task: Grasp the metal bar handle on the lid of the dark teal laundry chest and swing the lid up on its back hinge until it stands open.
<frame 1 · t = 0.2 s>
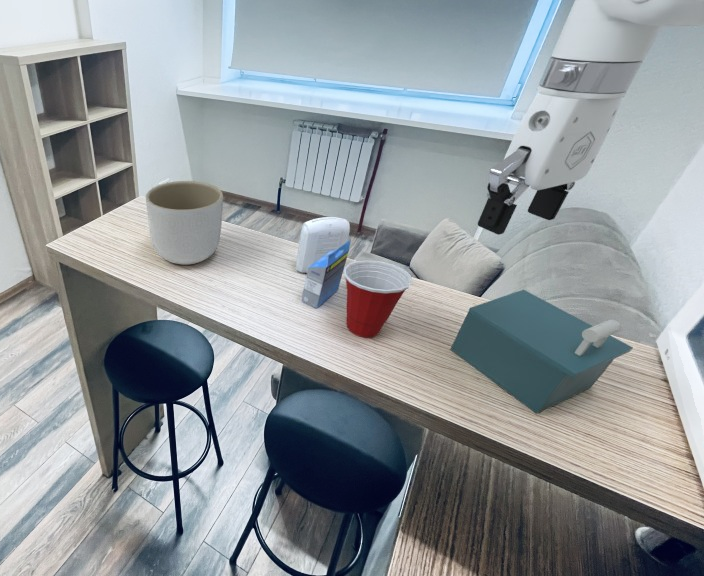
hand: (515, 222, 54), 25 cm above the table, tool pointing down, fingers open, 9 cm apart
photo printer: (317, 269, 92), on the table
planter: (186, 254, 98), on the table
chest: (516, 367, 66), on the table
label tape box: (320, 296, 83), on the table
lid: (552, 316, 60), point 11 cm above the table, hinge at 0.0°
plastic cup: (361, 327, 75), on the table
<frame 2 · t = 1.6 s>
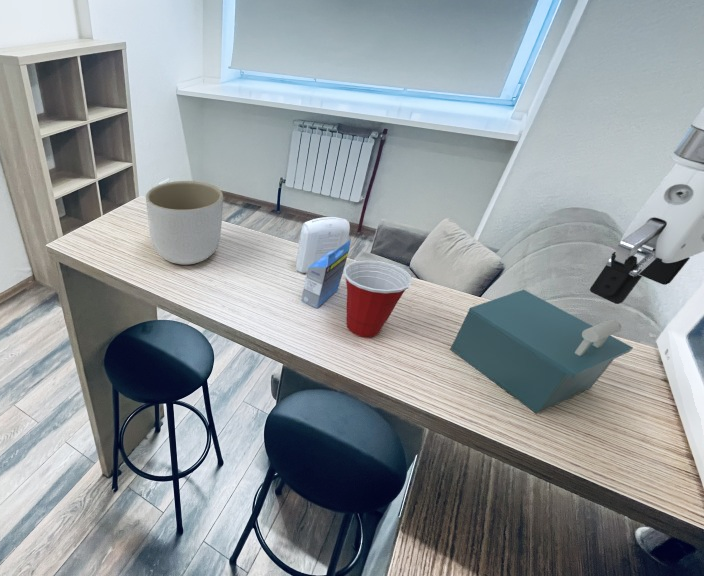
hand: (628, 287, 51), 19 cm above the table, tool pointing down, fingers open, 9 cm apart
nothing on the table moved.
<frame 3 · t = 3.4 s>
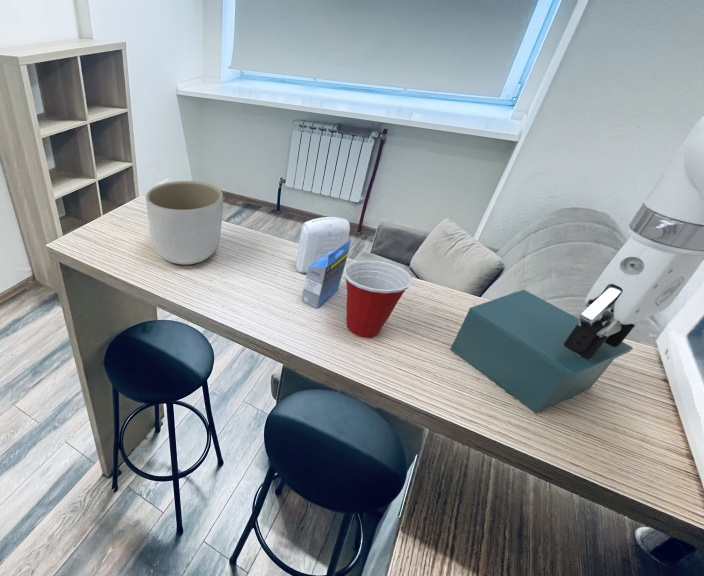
hand: (590, 345, 56), 10 cm above the table, tool pointing down, fingers closed on lid, 5 cm apart
lid: (552, 316, 60), point 11 cm above the table, hinge at 0.0°, touching gripper
everything else where it was.
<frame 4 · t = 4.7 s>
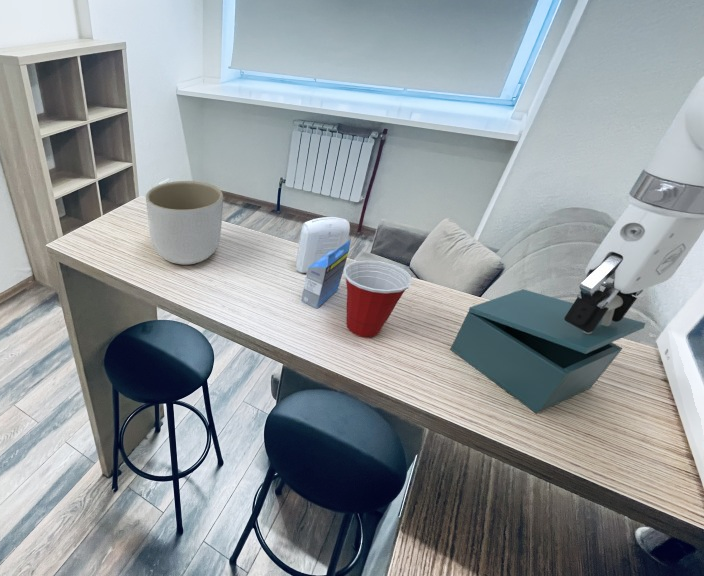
hand: (592, 319, 55), 13 cm above the table, tool pointing down, fingers closed on lid, 5 cm apart
lid: (552, 303, 59), point 13 cm above the table, hinge at 15.1°, touching gripper
everything else where it was.
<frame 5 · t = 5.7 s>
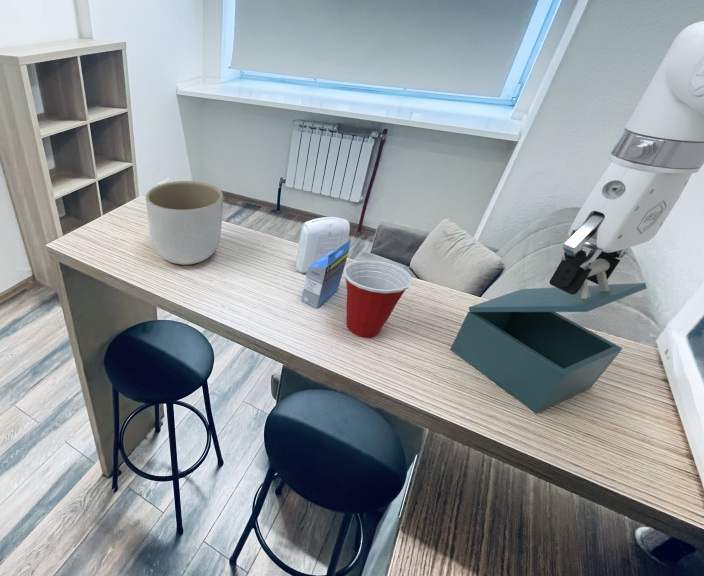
hand: (576, 283, 56), 17 cm above the table, tool pointing down, fingers closed on lid, 5 cm apart
lid: (546, 284, 60), point 15 cm above the table, hinge at 36.1°, touching gripper
everything else where it was.
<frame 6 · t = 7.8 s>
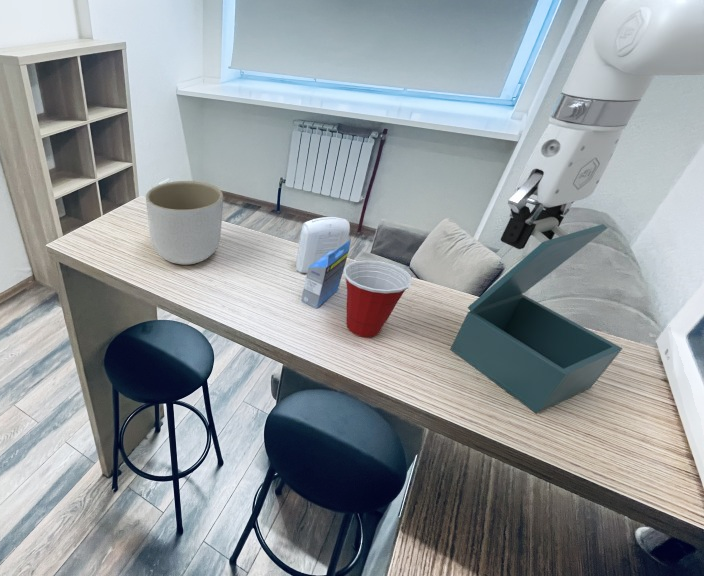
hand: (525, 239, 61), 20 cm above the table, tool pointing down, fingers open, 5 cm apart
lid: (520, 259, 62), point 17 cm above the table, hinge at 70.8°
everything else where it was.
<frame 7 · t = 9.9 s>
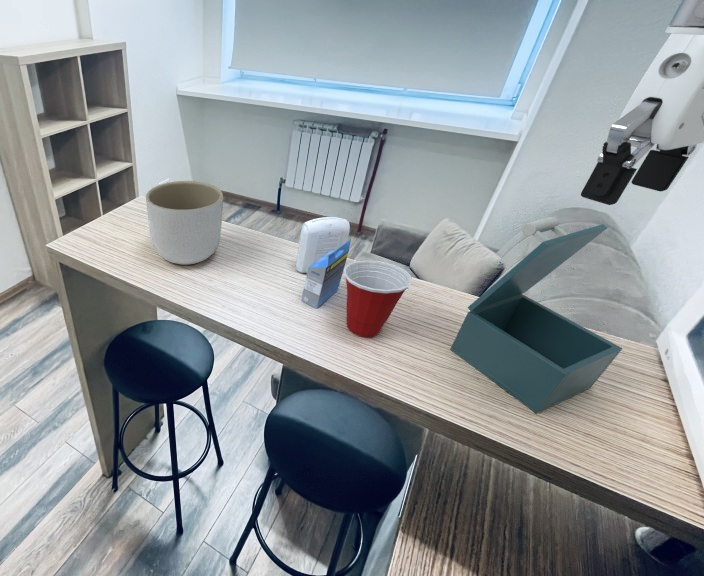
hand: (622, 193, 47), 31 cm above the table, tool pointing down, fingers open, 9 cm apart
nothing on the table moved.
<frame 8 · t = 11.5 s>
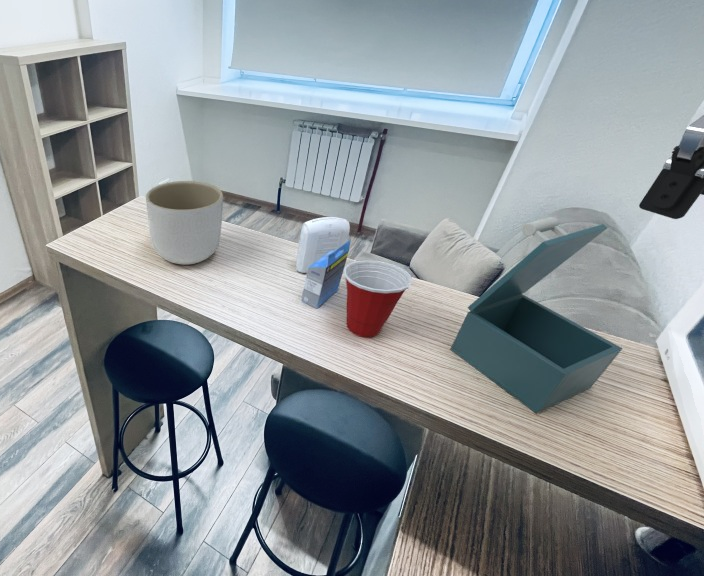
hand: (687, 204, 41), 32 cm above the table, tool pointing down, fingers open, 9 cm apart
nothing on the table moved.
at the end: lid at +71° (first picture: +0°) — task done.
